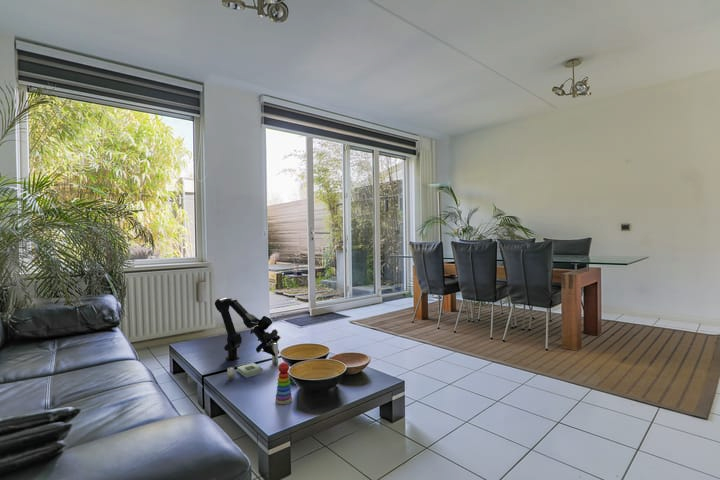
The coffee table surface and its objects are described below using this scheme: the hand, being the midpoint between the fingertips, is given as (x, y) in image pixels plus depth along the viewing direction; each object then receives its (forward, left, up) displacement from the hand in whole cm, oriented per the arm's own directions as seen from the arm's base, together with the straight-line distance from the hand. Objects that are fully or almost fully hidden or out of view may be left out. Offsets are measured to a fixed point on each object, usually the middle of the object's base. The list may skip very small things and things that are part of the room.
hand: (277, 354), depth 221 cm
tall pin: (-1, -1, -7) cm, 7 cm away
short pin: (+1, -29, -7) cm, 29 cm away
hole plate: (-1, -17, -7) cm, 18 cm away
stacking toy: (+43, -20, -7) cm, 48 cm away
